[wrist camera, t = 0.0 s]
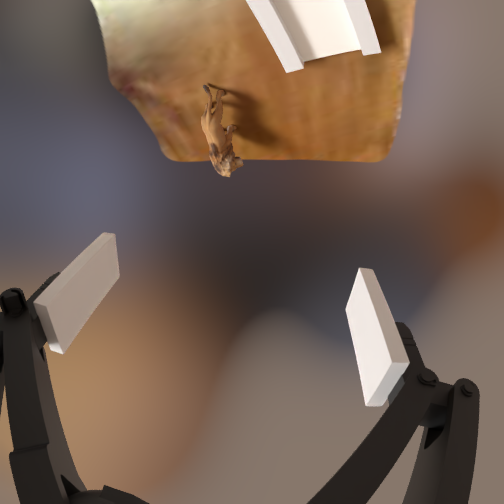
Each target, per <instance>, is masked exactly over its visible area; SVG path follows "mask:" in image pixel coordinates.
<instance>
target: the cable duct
mask: <svg viewBox="0 0 504 504" xmlns="http://www.w3.org/2000/svg"><path fill="white" fill-rule="evenodd" d="M246 1H247V3H248V5H249V6H250V8H251V10H252V11H253V13H254V15H255V16H256V18H257V20H258V21H259V23H260V25H261V27H262V28H263V30H264V32H265V34H266V35H267V37H268V39H269V41H270V43H271V44H272V46H273V48H274V50H275V52H276V54H277V55H278V57H279V59H280V61H281V63H282V65H283V67H284V69H285V71H286V73H288V72H292V71H295V70H299V69H303V68H304V62H305V61H309V60H313V59H317V58H321V57H326V56H330V55H335V54H339V53H344V52H349V51H354V50H360V49H361V50H362V53H363V55H369V54H375V53H381V50H380V46H379V43H378V39H377V36H376V33H375V29H374V26H373V23H372V20H371V17H370V14H369V11H368V8H367V5H366V2H365V0H246Z"/></svg>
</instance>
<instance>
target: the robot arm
mask: <svg viewBox="0 0 504 504" xmlns="http://www.w3.org/2000/svg"><path fill="white" fill-rule="evenodd" d="M119 277H120V275H119V267H118V259H117V249H116V240H115V234H111V233H102V234H101V235H100V236H99V237H98V238H97V239H96V240H95V241H94V242H93V243H91V244H90V245H89V246H88V247H87V248H86V249H85V250H84V251H83V252H82V253H81V254H80V255H79V256H78V257H77V258H76V259H75V260H74V261H73V262H72V263H71V264H70V265H69V266H68V267H67V268H66V269H65V270H64V271H63V272H62V273H60V272H58V273H56V274H54V275H53V276H51V277H49V278H48V279H47V280H46V281H45V282H44V284H42V286H41V287H40V288H39V289H38V290H37V291H36V292H35V293H34V294H33V295H32V296H31V297H30V298H29V299H28V300H27V301H26V299H25V297H24V293H23V291H22V290H21V289H20V288H10V289H8V290H6V291H4V292H3V293H2V294H1V295H0V307H1V309H2V312H0V414H1V405H2V399H3V392H4V386H5V388H6V389H5V390H6V400H7V409H8V417H9V423H10V430H11V436H12V442H13V447H14V450H13V452H10V454H9V460H10V466H11V470H12V474H13V478H14V482H15V486H16V490H17V494H18V497H19V501H20V504H149V503H147V502H145V501H143V500H141V499H140V498H138V497H136V496H134V495H132V494H129V493H126V492H123V491H120V490H117V489H114V488H111V487H109V486H106V485H104V487H103V490H88V491H87V489H86V487H85V485H84V484H83V482H82V481H81V479H80V477H79V476H78V473H77V471H76V468H75V465H74V463H73V460H72V457H71V454H70V451H69V448H68V445H67V441H66V438H65V435H64V432H63V428H62V425H61V421H60V417H59V414H58V410H57V406H56V402H55V398H54V394H53V389H52V385H51V380H50V375H49V370H48V364H47V359H46V353H45V350H44V347H43V346H44V344H45V343H46V342H48V344H49V346H50V349H51V350H52V351H55V352H58V353H61V354H64V353H65V352H66V350H67V349H68V347H69V346H70V344H71V342H72V341H73V340H74V338H75V337H76V335H77V334H78V332H79V331H80V330H81V328H82V327H83V325H84V324H85V323H86V321H87V320H88V318H89V317H90V316H91V314H92V313H93V311H94V310H95V309H96V307H97V306H98V305H99V303H100V302H101V301H102V299H103V298H104V296H105V295H106V294H107V293H108V291H109V290H110V288H111V287H112V286H113V285H114V283H115V282H116V281H117V279H118V278H119ZM346 313H347V317H348V322H349V326H350V330H351V335H352V339H353V344H354V349H355V353H356V358H357V363H358V368H359V372H360V378H361V383H362V388H363V394H364V399H365V405H366V406H382V405H383V404H384V402H385V401H386V400H387V398H388V400H389V405H390V406H389V407H388V409H387V410H386V411H385V413H384V414H383V415H382V417H381V418H380V420H379V421H378V422H377V424H376V425H375V426H374V427H373V429H372V430H371V431H370V433H369V434H368V435H367V437H366V438H365V439H364V440H363V442H362V443H361V444H360V445H359V447H358V448H357V449H356V450H355V451H354V453H353V454H352V455H351V456H350V458H349V459H348V460H347V461H346V462H345V463H344V465H343V466H342V467H341V468H340V469H339V470H338V471H337V472H336V474H335V475H334V476H333V477H332V478H331V479H330V480H329V481H328V482H327V483H326V484H325V485H324V486H323V487H322V488H321V490H320V491H319V492H318V493H317V494H316V495H315V496H314V497H313V498H312V499H311V500H310V501H309V502H308V503H307V504H366V503H367V502H368V500H369V499H370V498H371V496H372V495H373V494H374V493H375V491H376V490H377V488H378V487H379V486H380V484H381V483H382V482H383V480H384V478H385V477H386V476H387V475H388V473H389V472H390V470H391V469H392V467H393V466H394V464H395V463H396V461H397V460H398V458H399V457H400V455H401V453H402V452H403V450H404V448H405V447H406V445H407V444H408V442H409V440H410V439H411V437H412V435H413V434H414V432H415V430H416V429H417V427H418V425H420V426H424V431H423V435H422V439H421V443H420V448H419V451H418V455H417V459H416V462H415V466H414V469H413V473H412V476H411V479H410V482H409V486H408V489H407V492H406V495H405V497H404V500H403V503H402V504H468V500H469V495H470V490H471V484H472V478H473V472H474V464H475V457H476V448H477V437H478V423H479V397H480V394H479V389H478V387H477V386H476V384H474V383H473V382H472V381H470V380H469V379H465V378H462V379H459V380H457V381H456V383H455V384H454V385H450V384H446V383H443V382H439V379H438V377H437V375H436V374H435V373H434V372H433V371H431V370H430V369H427V368H425V366H424V363H423V361H422V358H421V355H420V353H419V351H418V348H417V346H416V343H415V341H414V340H413V336H412V333H411V331H410V329H409V328H408V327H407V326H406V325H405V324H404V323H400V322H394V319H393V317H392V314H391V312H390V310H389V307H388V305H387V302H386V300H385V297H384V295H383V292H382V290H381V288H380V285H379V283H378V281H377V278H376V276H375V274H374V272H373V270H372V269H365V268H359V270H358V273H357V276H356V280H355V283H354V286H353V289H352V292H351V295H350V298H349V301H348V304H347V307H346Z"/></svg>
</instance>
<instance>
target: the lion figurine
mask: <svg viewBox="0 0 504 504" xmlns="http://www.w3.org/2000/svg"><path fill="white" fill-rule="evenodd" d="M203 88H204V89H205V91H206V92H207V94H208V96H209V103H208V104H206V106H205V108H206V109H205V112H204V114H203V115H202V117H201V125H202V129H203V131H204V133H205V135H206V138H207V141H208V144H209V146H210V150H209V156H210V158H211V161H212V163H213V166H214V167H215V170H217V172H218V173H219V174H221V175H222V176H227V177H230V174H231V172H232V171H235V170H236V168H238V167H242V166H243V163H242V160H241V158H240V157H235V153H234V152H233V146H232V143H231V141H232V131H235V130H236V127H235V126H233V125H230V126H228V129H227V134H226V135H225V132H224V129H223V127H222V125H221V124H220V123H221V119H222V114H223V106H222V100H221V97H222V96H224V94H225V92H224V91H223V90H218V91H217V95H216V100H217V106H216V109H215V111H214V112H213V113H211V109H212V95H211V93H210V90H209V87H207V86H206V85H203Z"/></svg>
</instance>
